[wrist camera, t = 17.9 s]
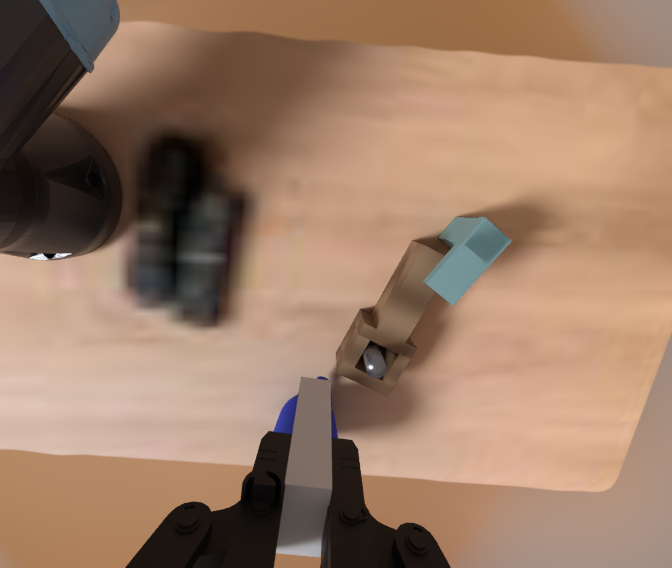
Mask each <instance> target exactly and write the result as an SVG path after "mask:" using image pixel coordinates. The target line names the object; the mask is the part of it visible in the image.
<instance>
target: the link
mask: <svg viewBox="0 0 672 568" xmlns="http://www.w3.org/2000/svg"><path fill="white" fill-rule="evenodd" d="M443 258H444V255H442V254H440V253H439V252H437V251H435V250H433V249H431V248H429V247H427V246H425V245H423V244H420V243H418V242H415V241H412V242H411V243H410V245H409V247H408V249H407V251H406V252H405V254H404V256H403V258H402V259H401V261H400V263H399V265H398V267H397V268H396V270H395V272H394V274H393V275H392V277H391V279H390V281H389V283H388V284H387V286H386V288H385V290H384V291H383V293H382V295H381V297H380V299H379V300H378V302H377V304H376V306H375V308H374V309H373V311H372V313H371V314H369V313H367V312H365V311H363V310H361V309H360V310H359V312H358V314H357V316H356V318H355V319H354V321H353V323H352V325H351V327H350V328H349V330H348V332H347V334H346V336H345V337H344V339H343V341H342V343H341V345H340V347H339V348H338V350H337V352H336V365H337V373H338V374H340V375H342V376H344V377H347V378H349V379H351V380H353V381H355V382H358V383H360V384H362V385H364V386H366V387H368V388H371V389H373V390H375V391H377V392H379V393H382V394H384V395H386V396H388V395H389V394H390V392H391V390H392V389H393V387H394V386H395V384H396V382H397V381H398V379H399V377H400V376H401V374H402V372H403V371H404V369H405V367H406V366H407V364H408V362H409V361H410V359H411V358H412V356H413V354H414V353H415V351H416V349H417V348H416V347H415V345H414V343H413V342H412V340H411V339H410V337H409V336H410V334H411V333H412V331H413V329H414V328H415V326H416V324H417V323H418V321H419V319H420V318H421V316H422V314H423V313H424V311H425V309H426V308H427V306H428V304H429V303H430V301H431V299H432V298H433V296H434V294H435V293H436V292H435V291H434V290H433V289H432V288H431V287H429V286H428V285H427V284H426V283H424V282H423V280H424V279H425V278H426V277H427V276H428V275H429V273H430V272H431V271H432V270H433V269H434V268H435V267H436V265H437V264H438V263H439V262H440V261H441V260H442V259H443ZM370 340H371V341H373V342H375V343H377V344H379V345H381V346H383V347H384V348H383V350H382V352H381V353H382V356H383V359H384V361H385V364H386V367H387V370H386V373H385V374H384V376H382V377H380V378H372V377H370V376H369V375H368V373H367V370H366V366H365V362H364V358H363V354H362V353H363V352H364V350H365V348H366V346H367V345H368V343H369V341H370Z"/></svg>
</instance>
